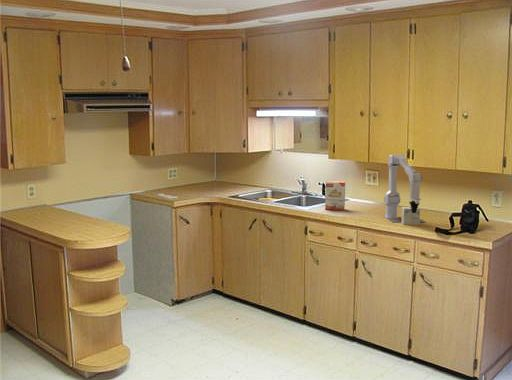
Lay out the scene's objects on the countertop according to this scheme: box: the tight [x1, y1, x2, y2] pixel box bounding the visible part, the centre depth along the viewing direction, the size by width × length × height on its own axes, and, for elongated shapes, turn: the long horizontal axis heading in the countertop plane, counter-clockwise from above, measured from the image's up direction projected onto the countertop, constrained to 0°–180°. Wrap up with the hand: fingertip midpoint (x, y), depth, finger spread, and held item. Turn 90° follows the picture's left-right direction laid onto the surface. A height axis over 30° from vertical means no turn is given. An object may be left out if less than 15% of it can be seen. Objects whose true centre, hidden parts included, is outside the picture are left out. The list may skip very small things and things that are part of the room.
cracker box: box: [324, 180, 346, 211], centre depth 408 cm, size 14×6×21 cm, turn 76°
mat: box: [389, 218, 426, 223], centre depth 369 cm, size 8×22×1 cm, turn 89°
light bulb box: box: [401, 206, 421, 226], centre depth 360 cm, size 11×7×11 cm, turn 88°
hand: (413, 212), depth 353 cm, fingers closed
